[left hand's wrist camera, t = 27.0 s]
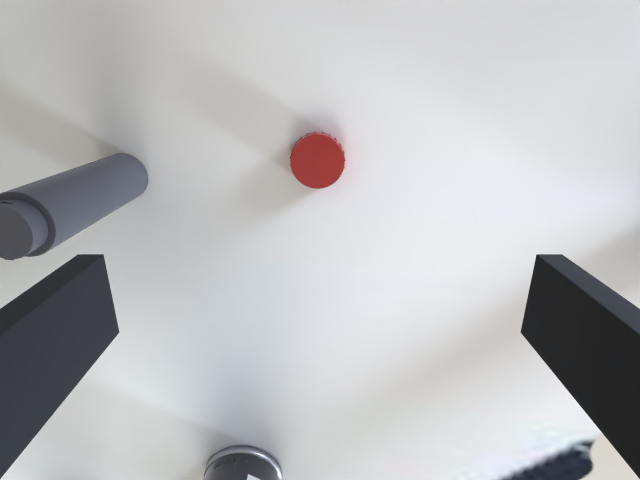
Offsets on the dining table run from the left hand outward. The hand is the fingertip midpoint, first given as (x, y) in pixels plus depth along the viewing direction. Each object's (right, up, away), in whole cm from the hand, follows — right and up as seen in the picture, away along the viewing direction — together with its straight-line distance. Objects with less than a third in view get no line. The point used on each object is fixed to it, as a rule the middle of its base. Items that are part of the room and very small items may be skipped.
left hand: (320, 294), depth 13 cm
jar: (-18, +8, +25) cm, 32 cm away
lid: (0, +9, +23) cm, 25 cm away
